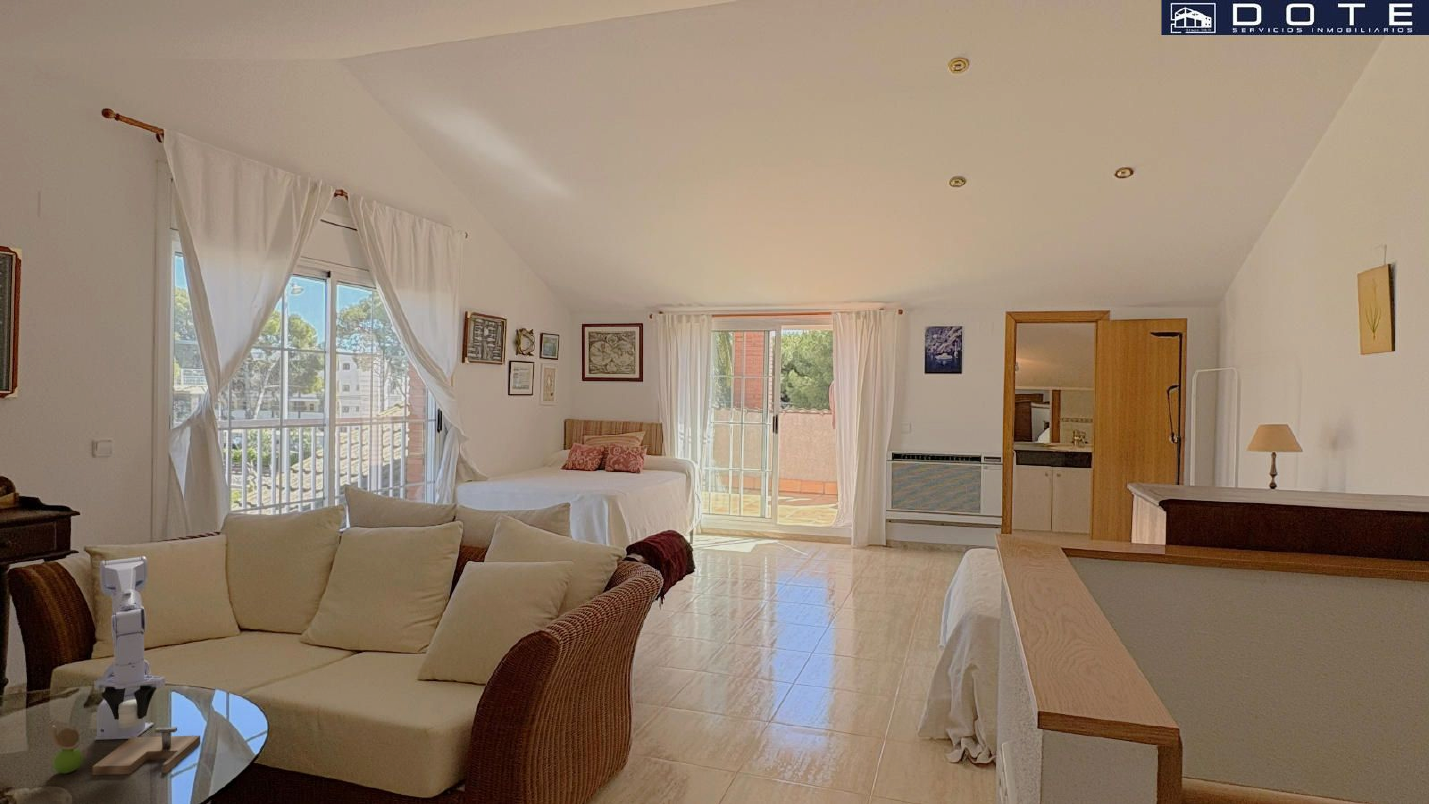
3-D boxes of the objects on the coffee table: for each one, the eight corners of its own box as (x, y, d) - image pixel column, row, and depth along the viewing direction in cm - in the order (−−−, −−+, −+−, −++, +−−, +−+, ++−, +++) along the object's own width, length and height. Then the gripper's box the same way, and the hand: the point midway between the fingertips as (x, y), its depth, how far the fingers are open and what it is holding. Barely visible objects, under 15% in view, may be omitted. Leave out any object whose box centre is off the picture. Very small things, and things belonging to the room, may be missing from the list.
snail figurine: (59, 766, 185) (58, 716, 184) (88, 765, 185) (87, 715, 184) (42, 778, 179) (40, 726, 178) (72, 777, 180) (70, 726, 179)
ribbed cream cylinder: (114, 728, 184) (113, 707, 184) (126, 719, 189) (125, 699, 189) (135, 728, 185) (134, 707, 185) (147, 719, 190) (146, 698, 189)
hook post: (154, 750, 189) (154, 730, 189) (159, 746, 191) (158, 726, 190) (174, 749, 189) (173, 729, 189) (178, 745, 191) (178, 726, 191)
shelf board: (92, 775, 181) (92, 766, 181) (131, 745, 195) (131, 737, 195) (166, 772, 183) (166, 764, 182) (200, 743, 196) (200, 735, 196)
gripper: (84, 668, 182) (85, 726, 182) (151, 666, 183) (153, 724, 184) (105, 656, 189) (106, 712, 189) (169, 655, 190) (170, 710, 191)
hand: (130, 717), depth 187 cm, fingers closed on ribbed cream cylinder, 5 cm apart
